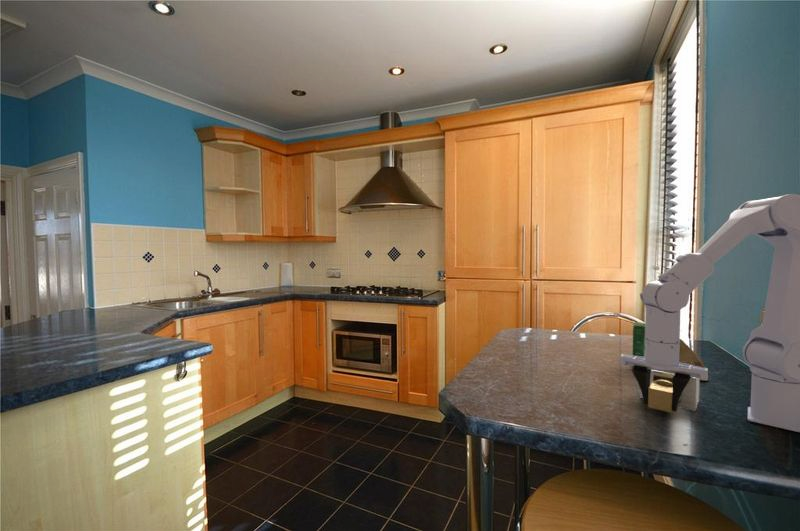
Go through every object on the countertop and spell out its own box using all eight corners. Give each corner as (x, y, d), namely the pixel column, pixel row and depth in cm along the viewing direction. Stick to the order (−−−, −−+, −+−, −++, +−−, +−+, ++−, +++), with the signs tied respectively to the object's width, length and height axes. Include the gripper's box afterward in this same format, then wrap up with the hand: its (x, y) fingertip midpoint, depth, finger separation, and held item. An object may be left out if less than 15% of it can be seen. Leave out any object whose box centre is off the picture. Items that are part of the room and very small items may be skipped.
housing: (698, 401, 84) (699, 368, 83) (695, 411, 78) (696, 376, 78) (646, 390, 90) (646, 360, 90) (639, 398, 85) (640, 366, 85)
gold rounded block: (653, 394, 86) (654, 370, 86) (684, 401, 82) (685, 375, 82) (643, 409, 77) (643, 383, 77) (676, 418, 74) (677, 389, 73)
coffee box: (633, 364, 111) (634, 321, 111) (645, 366, 109) (646, 322, 109) (631, 371, 105) (632, 325, 104) (643, 373, 103) (644, 326, 102)
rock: (723, 372, 96) (688, 357, 106) (710, 348, 95) (676, 334, 104) (690, 398, 96) (658, 379, 106) (676, 374, 94) (645, 358, 104)
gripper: (616, 337, 78) (615, 402, 78) (706, 350, 68) (704, 424, 68) (625, 332, 83) (623, 393, 83) (709, 343, 73) (707, 412, 73)
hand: (660, 406), depth 76 cm, fingers closed on gold rounded block, 4 cm apart
